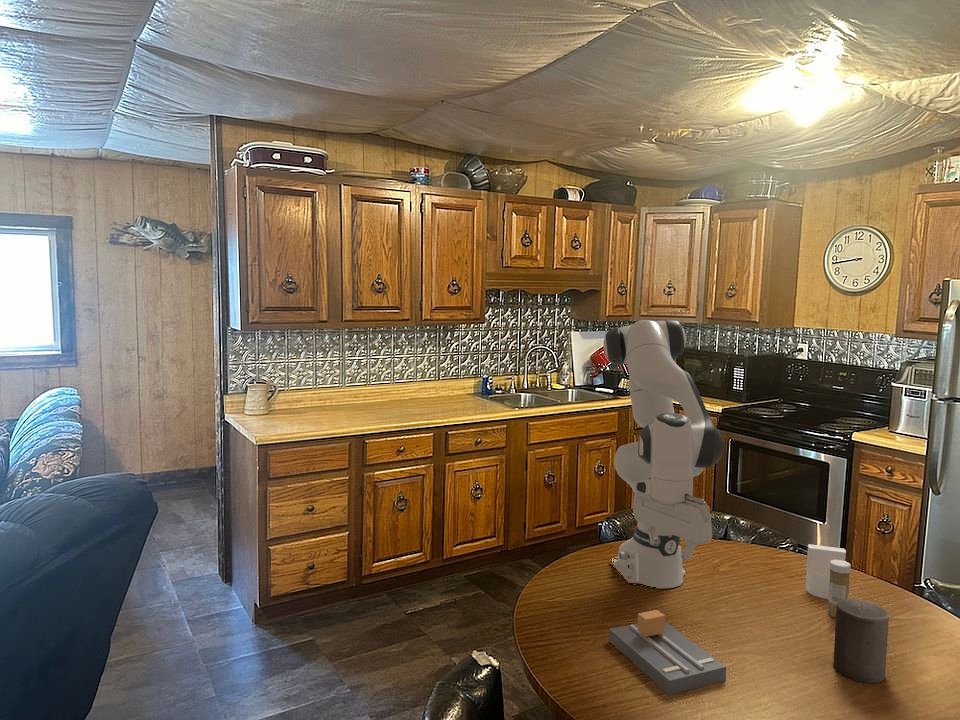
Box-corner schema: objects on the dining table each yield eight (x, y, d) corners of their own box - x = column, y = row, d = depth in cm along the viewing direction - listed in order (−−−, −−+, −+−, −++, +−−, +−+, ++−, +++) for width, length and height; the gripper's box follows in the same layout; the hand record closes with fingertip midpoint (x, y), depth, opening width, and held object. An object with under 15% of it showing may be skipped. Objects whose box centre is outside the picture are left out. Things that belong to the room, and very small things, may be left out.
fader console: (608, 641, 153) (609, 626, 153) (660, 630, 158) (660, 616, 158) (669, 695, 133) (669, 677, 132) (725, 680, 138) (726, 663, 137)
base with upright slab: (806, 595, 177) (809, 551, 176) (804, 582, 185) (806, 540, 184) (845, 601, 174) (848, 556, 172) (841, 587, 182) (843, 544, 181)
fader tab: (637, 633, 150) (638, 613, 150) (656, 630, 152) (656, 609, 151) (645, 640, 147) (646, 619, 147) (664, 636, 149) (665, 615, 149)
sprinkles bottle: (851, 616, 166) (854, 563, 164) (841, 621, 163) (844, 567, 162) (833, 608, 169) (836, 557, 168) (823, 613, 167) (826, 561, 166)
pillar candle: (826, 671, 141) (830, 602, 140) (840, 653, 148) (844, 588, 147) (879, 689, 135) (883, 618, 133) (890, 669, 142) (895, 601, 140)
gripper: (720, 499, 138) (718, 564, 139) (649, 477, 156) (648, 536, 157) (698, 503, 135) (696, 570, 136) (628, 481, 153) (628, 540, 154)
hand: (670, 551), depth 146 cm, fingers open, 8 cm apart
